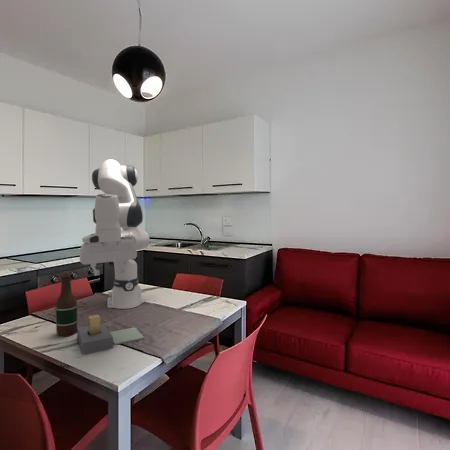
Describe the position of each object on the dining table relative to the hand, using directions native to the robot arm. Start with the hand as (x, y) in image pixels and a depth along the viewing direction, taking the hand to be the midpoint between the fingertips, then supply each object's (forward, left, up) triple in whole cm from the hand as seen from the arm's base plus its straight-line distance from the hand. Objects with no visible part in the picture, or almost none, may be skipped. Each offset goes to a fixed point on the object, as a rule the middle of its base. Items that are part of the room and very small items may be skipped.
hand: (110, 273), depth 117 cm
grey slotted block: (-3, -5, -26) cm, 27 cm away
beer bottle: (-18, -13, -26) cm, 35 cm away
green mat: (-3, +6, -26) cm, 27 cm away
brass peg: (-3, -5, -26) cm, 27 cm away
